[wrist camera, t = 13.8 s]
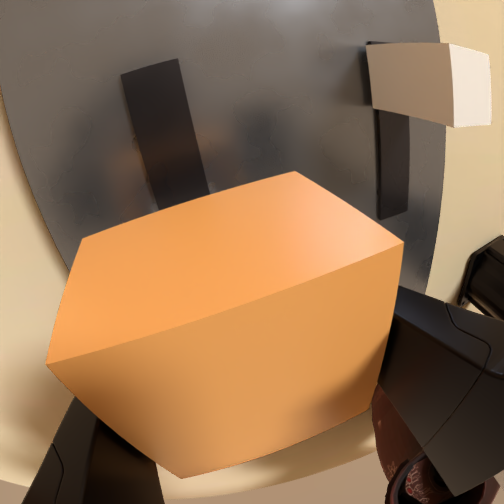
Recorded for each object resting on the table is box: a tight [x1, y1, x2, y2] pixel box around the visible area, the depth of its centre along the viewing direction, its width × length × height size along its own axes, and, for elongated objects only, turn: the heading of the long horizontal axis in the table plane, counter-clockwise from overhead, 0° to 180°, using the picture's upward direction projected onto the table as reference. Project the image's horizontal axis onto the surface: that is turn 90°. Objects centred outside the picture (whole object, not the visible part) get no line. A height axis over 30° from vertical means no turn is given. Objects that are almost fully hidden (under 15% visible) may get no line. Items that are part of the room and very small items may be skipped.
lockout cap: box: [45, 171, 404, 479], centre depth 7 cm, size 6×6×4 cm
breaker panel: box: [0, 0, 446, 295], centre depth 12 cm, size 22×18×2 cm
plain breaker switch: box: [365, 43, 491, 128], centre depth 8 cm, size 3×3×4 cm
